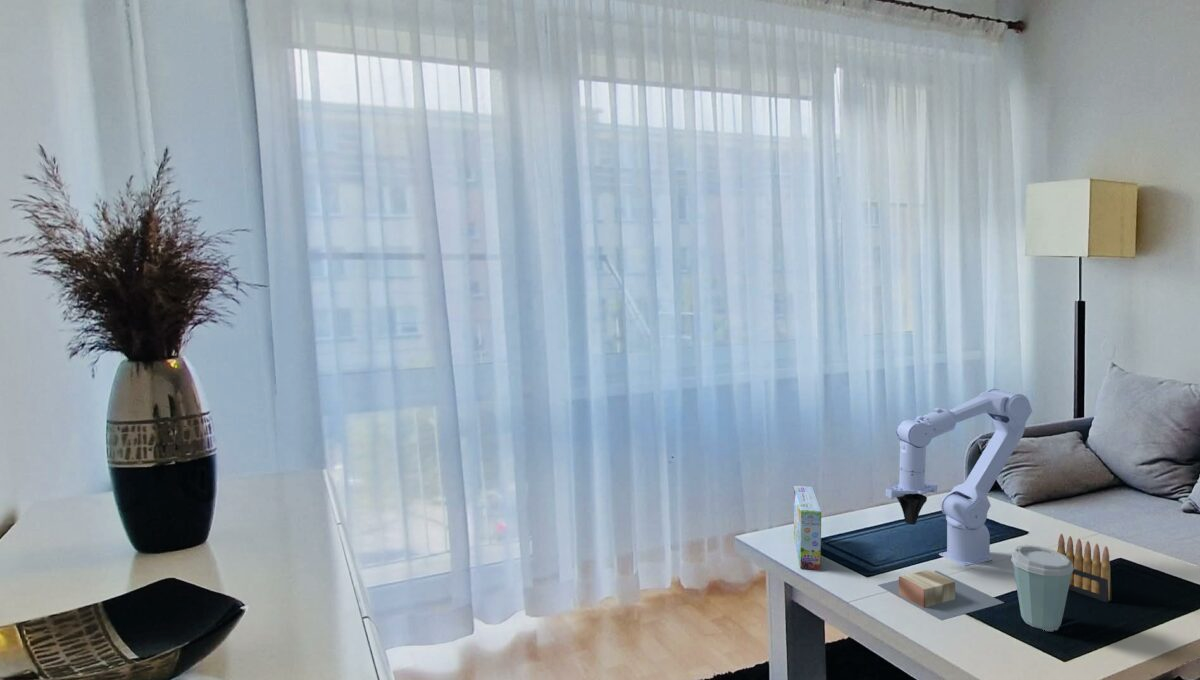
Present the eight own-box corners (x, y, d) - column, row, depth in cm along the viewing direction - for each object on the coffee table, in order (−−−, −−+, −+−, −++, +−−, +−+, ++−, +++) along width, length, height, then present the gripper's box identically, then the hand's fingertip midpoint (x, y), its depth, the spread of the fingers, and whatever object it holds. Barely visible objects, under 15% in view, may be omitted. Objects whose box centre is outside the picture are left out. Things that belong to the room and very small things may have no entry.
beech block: (929, 569, 154) (898, 576, 151) (955, 581, 148) (923, 589, 144) (929, 586, 154) (898, 594, 151) (955, 599, 148) (923, 607, 145)
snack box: (823, 570, 166) (822, 511, 165) (799, 569, 167) (798, 510, 166) (813, 538, 187) (812, 484, 186) (792, 537, 188) (791, 484, 187)
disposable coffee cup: (1069, 617, 139) (1070, 547, 138) (1076, 643, 130) (1077, 567, 128) (1009, 607, 144) (1010, 539, 143) (1011, 631, 135) (1012, 558, 133)
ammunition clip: (1112, 600, 145) (1113, 546, 144) (1107, 602, 145) (1109, 548, 144) (1058, 582, 155) (1059, 531, 154) (1054, 584, 154) (1054, 533, 153)
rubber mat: (936, 572, 162) (936, 570, 162) (1004, 604, 146) (1004, 602, 146) (877, 586, 156) (877, 584, 156) (941, 622, 139) (941, 620, 139)
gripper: (901, 476, 159) (899, 532, 160) (948, 470, 164) (946, 524, 165) (879, 469, 166) (878, 522, 167) (925, 463, 171) (923, 515, 172)
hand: (910, 523), depth 167 cm, fingers closed
